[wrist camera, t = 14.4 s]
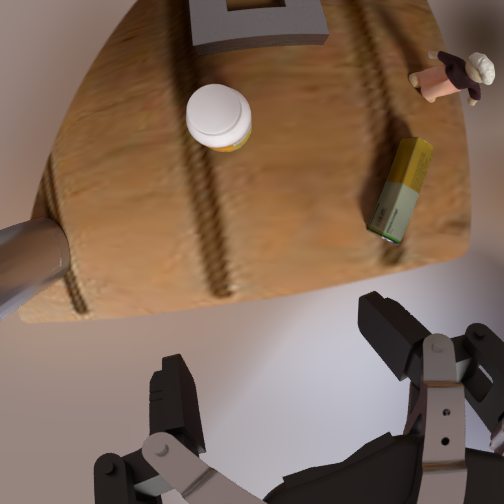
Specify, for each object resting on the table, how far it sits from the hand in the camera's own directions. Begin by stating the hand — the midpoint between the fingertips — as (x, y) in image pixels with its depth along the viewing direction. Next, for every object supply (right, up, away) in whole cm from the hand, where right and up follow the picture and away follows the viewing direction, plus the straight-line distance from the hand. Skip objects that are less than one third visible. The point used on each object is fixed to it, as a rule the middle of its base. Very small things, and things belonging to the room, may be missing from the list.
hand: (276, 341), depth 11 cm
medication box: (+15, +11, +18) cm, 26 cm away
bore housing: (-1, +33, +12) cm, 35 cm away
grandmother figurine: (+21, +24, +14) cm, 35 cm away
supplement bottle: (-4, +17, +16) cm, 24 cm away
